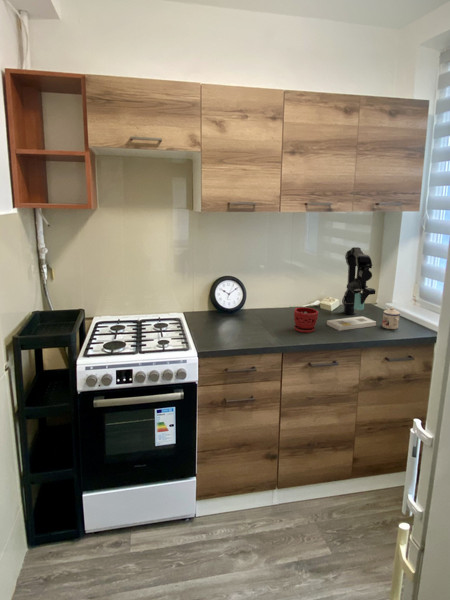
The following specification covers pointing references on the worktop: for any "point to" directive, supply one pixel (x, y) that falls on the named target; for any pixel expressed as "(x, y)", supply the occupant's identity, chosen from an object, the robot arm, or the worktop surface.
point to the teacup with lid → (390, 319)
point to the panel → (351, 323)
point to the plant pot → (305, 319)
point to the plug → (358, 302)
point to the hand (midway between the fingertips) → (359, 303)
